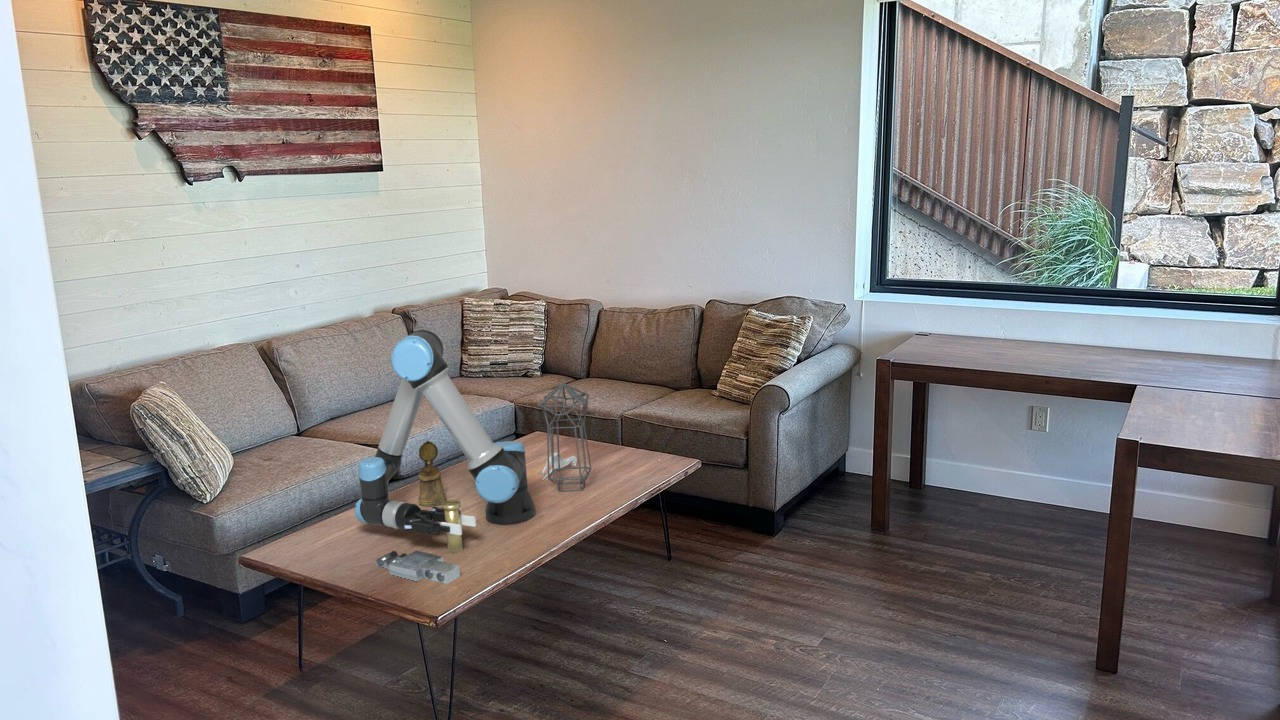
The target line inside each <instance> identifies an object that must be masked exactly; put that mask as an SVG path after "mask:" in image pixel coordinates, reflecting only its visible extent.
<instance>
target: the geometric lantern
mask: <svg viewBox="0 0 1280 720" xmlns="http://www.w3.org/2000/svg"><path fill="white" fill-rule="evenodd" d="M565 390H566V392H568V394H569V395H570V396H571V397H566V392H565ZM557 392H558V394H557ZM577 392H578V393H577ZM579 393H580V394H579ZM556 394H557V396H555V395H556ZM585 396H586V397H585ZM584 397H585V398H584ZM589 397H590V394H589V393H586V392H584V391H582V390H580V389H578V388H576V387H574V386H572V385H569V384H567V383H565V382H564V383H561V384H559V385H558V386H556V387H555V388H554V389H553V390H551V391H550V392H549V393H547V394H546V395H545V396H544V397H543V400H542V401H541V402H540V403H539V404H538V405H537V406H538V408H539V409H540V410H542V412H543V414H544V417H545V422H546V426H547V427H546V428H547V429H546V430H547V431H546V433H547V436H546V438H547V439H546V440H547V441H546V442H547V448H546V449H547V462H548V464H547V468H548V470H547V474H548V476H547V478H548V480H549V481H550V482H552V483H554V484H556V485H557V491H558V492H575V491H576V492H577V491H578V492H579V491H583V490H584V489H585V484H586V483H585V482H586V480H587V479H588V478H589V475H590V473H591V471H592V463H591V455H590V451H589V443H588V438H587V436H588V435H587V431H586V430H587V429H586V423H585V421H586V416H587V412H588V406H589V405H588V404H589ZM559 399H561V400H562V402H561V401H559ZM550 400H552V401H554V402H555V403H554V404H549V405H548V404H547V403H548V402H549V401H550ZM567 400H572V404H567ZM580 406H582V410H581V411H580V415H579V414H578V413H577V412H576V410H575V409H576V408H578V407H580ZM560 407H561V408H562V409H561V410H560V412H559V413H558V410H557V408H560ZM570 407H571V408H570ZM549 408H554V411H553V410H552V409H549ZM565 408H570V409H569V410H567V411H566V409H565ZM563 411H564V413H563ZM572 411H574V413H575V414H576V416H577V417H578V418H571V417H570V415H569V413H571V412H572ZM583 412H584V415H583V418H582V414H583ZM549 413H551V414H553V416H554V417H553V418H552V417H551V415H550V414H549ZM561 416H566V417H567V418H564V419H560V417H561ZM548 417H549V419H550V423H549V422H548ZM556 417H557V418H556ZM577 420H578V423H577V425H576V424H575V423H574V421H577ZM561 421H563V422H564V421H570V422H571V424H572V425H573V426H559V422H561ZM554 422H555V423H556V426H555V427H554ZM577 428H579V434H580V435H579V436H580V442H581V443H580V444H581V449H582V455H583V466H581V459H580V453H579V452H580V451H579V443H578V434H577V433H578V432H577ZM555 429H556V437H557V439H556V440H557V453H558V467H559V468H558V469H554V453H555V451H554V450H555V449H554V448H555V444H554V430H555ZM559 429H574V436H575V437H574V438H575V445H576V454H577V463H578V466H573V467H562V468H560V456H561V455H560V454H561V453H560V436H559V435H560V434H559V433H560V432H559ZM584 438H585V439H584ZM585 444H586V445H585ZM585 446H586V449H585ZM586 452H587V458H588V464H589V467H588V466H587V461H586ZM550 455H551V456H550ZM549 457H551V458H552V464H551V469H552V472H551V473H550V474H549V471H550V466H549ZM577 469H578V472H579V476H578V475H577V476H567V477H564V476H563V477H562V472H561V471H563V470H577ZM582 469H583V471H581V470H582ZM556 470H557V471H559V472H558V473H559V475H558V474H557V472H556ZM552 473H553V474H552ZM584 473H585V474H584ZM549 475H550V476H549ZM555 475H556V477H557V478H555ZM559 476H560V477H559ZM551 477H552V478H551ZM548 480H547V481H548ZM572 485H573V486H575V485H576V486H577V485H579V489H567V490H566V489H564V490H563V488H562V486H572Z"/></svg>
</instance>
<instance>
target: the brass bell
mask: <svg viewBox="0 0 1280 720" xmlns="http://www.w3.org/2000/svg"><path fill="white" fill-rule="evenodd" d="M438 453H439V449H438V447H437V445H436V444H435V443H433V442H432V441H429V440H427V441H425V442H424V443H423V444H422V445H420V447H419V450H418V455H419V458H420V459H421V461H423V463H424V467H422V468H420V469H419V473H418V479H419V492H418V493H419V495H418V504H419V503H420V504H421V505H420V504H419V505H420V506H422V505H424V506H423V507H435V506H438V505H442V503H443V502H445V501H448V499H447V494H446V493H445V491H444V490H445V489H444V486H443V482H442V478H441V477H442V475H441V471H440V469H439V467H438V466H434V462H433V461H434V460H435V459H436V458H437V457H438ZM434 505H435V506H434Z"/></svg>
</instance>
